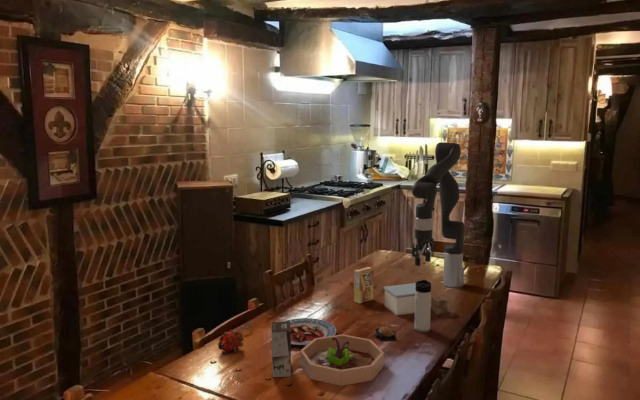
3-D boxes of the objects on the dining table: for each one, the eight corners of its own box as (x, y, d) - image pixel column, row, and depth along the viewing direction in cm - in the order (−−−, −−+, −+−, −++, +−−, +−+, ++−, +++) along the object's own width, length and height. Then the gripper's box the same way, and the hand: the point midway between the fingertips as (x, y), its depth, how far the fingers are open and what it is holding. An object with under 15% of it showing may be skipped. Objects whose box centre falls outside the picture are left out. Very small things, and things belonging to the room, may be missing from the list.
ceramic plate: (287, 355, 195) (287, 347, 195) (261, 330, 218) (261, 323, 217) (348, 341, 207) (348, 333, 206) (317, 318, 229) (317, 312, 229)
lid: (415, 285, 248) (415, 282, 248) (430, 294, 236) (430, 291, 235) (383, 289, 243) (383, 286, 242) (396, 298, 230) (396, 295, 230)
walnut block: (441, 309, 239) (441, 296, 238) (447, 312, 235) (447, 299, 234) (431, 310, 238) (431, 297, 237) (437, 314, 233) (437, 301, 232)
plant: (332, 350, 199) (332, 322, 197) (377, 365, 187) (377, 335, 185) (298, 371, 183) (297, 340, 181) (345, 389, 171) (345, 356, 169)
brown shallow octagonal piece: (362, 343, 204) (362, 331, 203) (394, 376, 178) (394, 362, 178) (294, 354, 195) (294, 341, 194) (317, 390, 170) (317, 375, 169)
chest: (415, 302, 248) (416, 285, 247) (428, 311, 237) (429, 293, 236) (384, 306, 243) (384, 289, 242) (396, 315, 232) (396, 298, 230)
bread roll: (372, 332, 216) (372, 323, 216) (393, 331, 217) (393, 322, 216) (376, 342, 206) (376, 333, 205) (398, 342, 206) (398, 333, 205)
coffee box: (291, 376, 179) (290, 331, 176) (272, 377, 178) (271, 332, 175) (290, 364, 188) (289, 320, 185) (272, 364, 187) (271, 321, 184)
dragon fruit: (244, 348, 204) (223, 365, 194) (229, 333, 206) (207, 349, 196) (252, 335, 199) (230, 352, 189) (236, 320, 201) (214, 335, 192)
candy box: (367, 297, 255) (367, 266, 252) (373, 299, 252) (373, 268, 249) (353, 301, 249) (353, 270, 247) (359, 304, 246) (360, 272, 244)
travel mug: (431, 327, 219) (432, 280, 216) (428, 333, 213) (430, 285, 209) (415, 325, 221) (416, 279, 218) (413, 331, 215) (414, 283, 212)
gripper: (422, 231, 225) (421, 268, 228) (439, 226, 235) (438, 261, 238) (407, 229, 230) (406, 265, 232) (424, 223, 240) (423, 258, 243)
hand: (422, 263), depth 235 cm, fingers open, 8 cm apart
